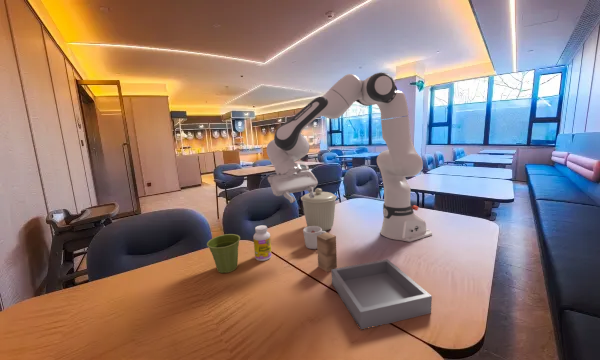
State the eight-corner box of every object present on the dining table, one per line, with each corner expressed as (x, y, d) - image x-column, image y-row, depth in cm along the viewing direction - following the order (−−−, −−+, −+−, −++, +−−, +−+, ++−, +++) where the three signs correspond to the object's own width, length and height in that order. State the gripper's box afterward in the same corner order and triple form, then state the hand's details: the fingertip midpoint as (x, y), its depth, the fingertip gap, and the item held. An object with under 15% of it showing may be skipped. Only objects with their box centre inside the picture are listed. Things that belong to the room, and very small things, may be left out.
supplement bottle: (258, 263, 94) (255, 232, 91) (253, 256, 100) (250, 226, 97) (274, 258, 97) (271, 228, 94) (268, 252, 103) (266, 223, 100)
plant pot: (223, 258, 99) (220, 232, 97) (249, 262, 95) (246, 235, 93) (203, 274, 88) (199, 245, 86) (231, 279, 84) (227, 249, 82)
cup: (328, 242, 108) (328, 225, 107) (329, 250, 101) (328, 232, 99) (304, 242, 109) (303, 226, 108) (303, 251, 102) (302, 233, 100)
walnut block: (327, 262, 92) (326, 232, 90) (336, 267, 88) (335, 236, 86) (318, 266, 89) (316, 235, 87) (327, 272, 85) (325, 240, 83)
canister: (339, 234, 117) (338, 191, 113) (302, 235, 117) (300, 193, 114) (335, 221, 134) (334, 183, 131) (302, 222, 135) (300, 185, 131)
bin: (387, 272, 83) (387, 259, 82) (431, 313, 63) (431, 295, 63) (331, 283, 78) (331, 269, 78) (360, 330, 59) (360, 312, 58)
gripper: (268, 170, 92) (283, 200, 86) (310, 164, 104) (326, 190, 98) (263, 180, 97) (277, 209, 91) (304, 174, 108) (319, 199, 102)
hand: (303, 199), depth 94 cm, fingers open, 8 cm apart
